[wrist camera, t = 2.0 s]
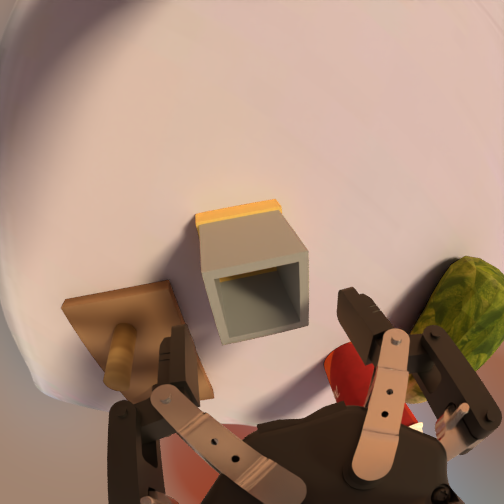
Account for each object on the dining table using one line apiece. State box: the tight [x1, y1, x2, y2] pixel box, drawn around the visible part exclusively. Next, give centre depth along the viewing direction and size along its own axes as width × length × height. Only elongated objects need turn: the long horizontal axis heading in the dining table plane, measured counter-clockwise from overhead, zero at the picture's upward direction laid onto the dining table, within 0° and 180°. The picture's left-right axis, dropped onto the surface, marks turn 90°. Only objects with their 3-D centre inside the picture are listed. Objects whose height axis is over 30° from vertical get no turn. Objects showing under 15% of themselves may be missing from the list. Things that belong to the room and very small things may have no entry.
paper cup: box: [324, 342, 423, 433], centre depth 25 cm, size 8×8×14 cm
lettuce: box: [405, 256, 504, 404], centre depth 26 cm, size 12×21×11 cm, turn 161°
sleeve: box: [196, 199, 309, 345], centre depth 18 cm, size 6×6×7 cm
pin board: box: [61, 280, 214, 437], centre depth 22 cm, size 16×10×7 cm, turn 7°
